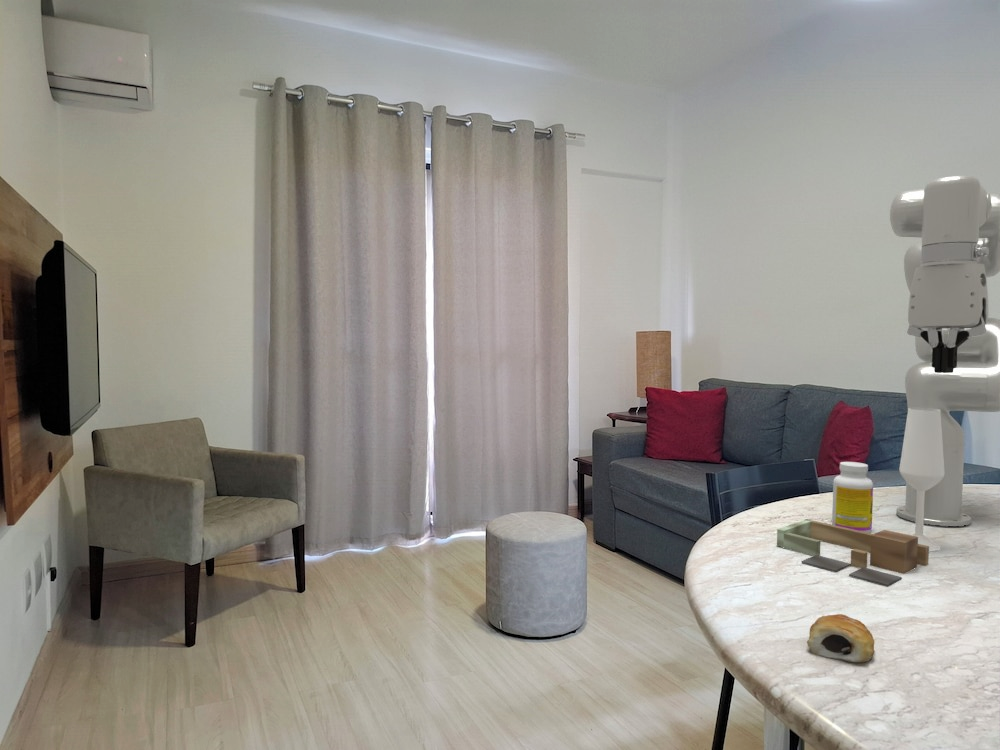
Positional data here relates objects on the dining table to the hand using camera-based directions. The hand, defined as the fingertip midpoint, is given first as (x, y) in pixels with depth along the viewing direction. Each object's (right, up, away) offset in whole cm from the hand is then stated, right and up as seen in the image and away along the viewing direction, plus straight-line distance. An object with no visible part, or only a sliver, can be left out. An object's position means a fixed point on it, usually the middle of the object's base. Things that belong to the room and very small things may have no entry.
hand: (943, 372), depth 107 cm
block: (-8, -31, 0) cm, 32 cm away
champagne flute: (+2, -31, +10) cm, 32 cm away
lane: (-15, -31, +3) cm, 34 cm away
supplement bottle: (-5, -30, +18) cm, 36 cm away
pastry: (-31, -33, -28) cm, 53 cm away
